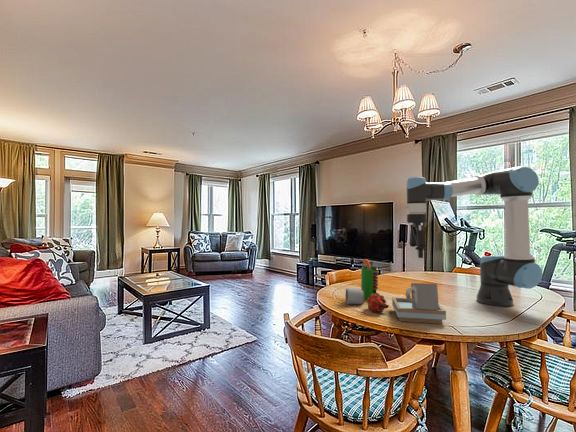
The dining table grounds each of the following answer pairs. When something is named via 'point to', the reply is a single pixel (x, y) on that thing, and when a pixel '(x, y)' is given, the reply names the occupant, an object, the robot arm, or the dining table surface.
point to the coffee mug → (423, 296)
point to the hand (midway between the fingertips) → (416, 263)
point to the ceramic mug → (354, 296)
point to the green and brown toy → (369, 279)
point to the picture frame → (417, 312)
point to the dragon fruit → (376, 302)
